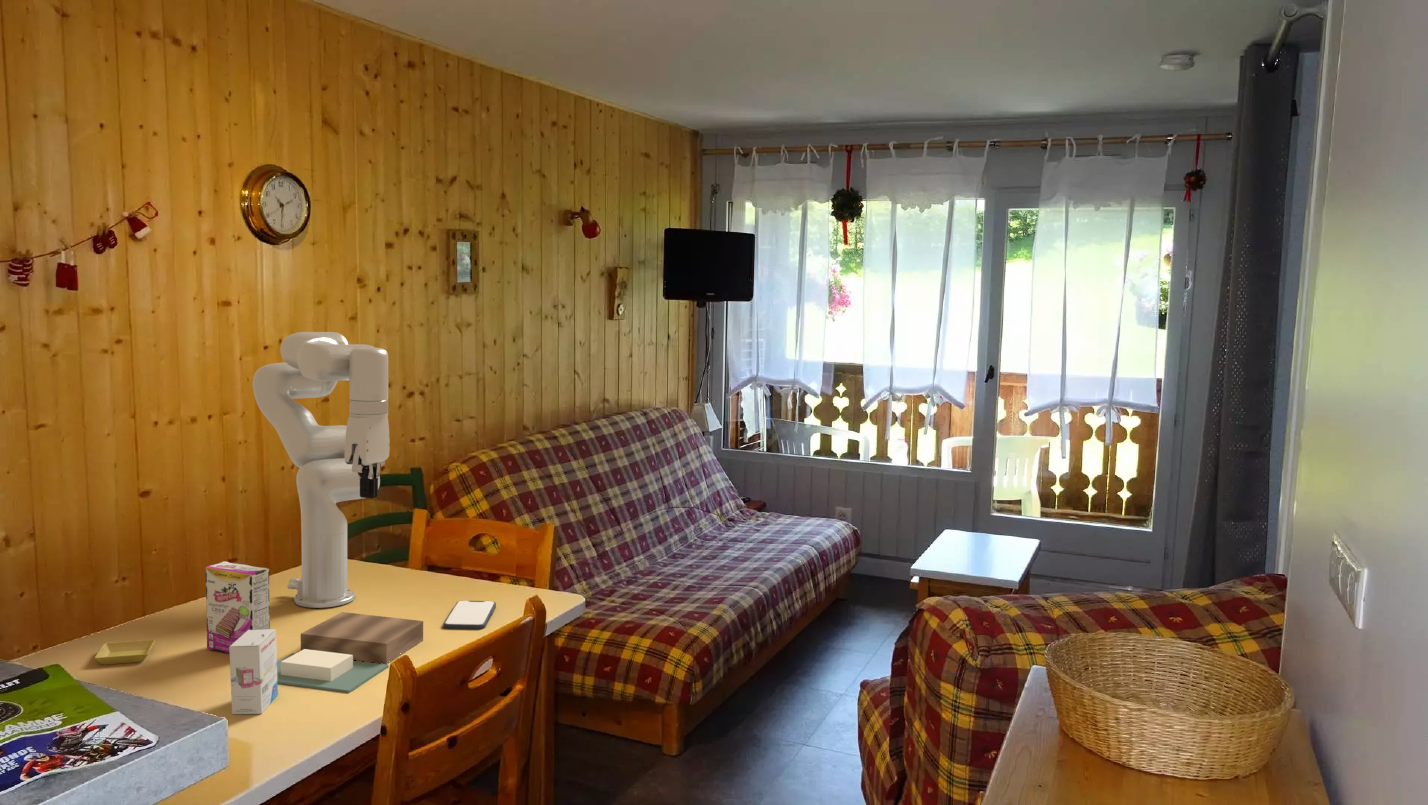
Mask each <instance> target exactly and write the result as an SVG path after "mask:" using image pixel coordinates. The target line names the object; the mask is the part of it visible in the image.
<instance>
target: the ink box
mask: <svg viewBox="0 0 1428 805" xmlns="http://www.w3.org/2000/svg"><path fill="white" fill-rule="evenodd" d="M229 651H230V653H229V669H230V695H231V698H230V699H231V714H232V715H261V714H263V713H264V712H265V711H266V709H267V708H268V707H269V706H270V704H271V703H272V702H273V701H274V700H275V699H276V698H277V696H278V695H279V691H278V690H279V688H278V687H279V685H278V683H277V661H278V658H277V657H278V654H277V653H278V652H277V630H276V629H275V628H270V629H263V630H248V631H246V632H245V633H244V634H243V635H242V636H241V637H240V638H239V639H238V640H236V641H235V642H234V643H233V644H232V645H231V646H230V647H229Z"/></svg>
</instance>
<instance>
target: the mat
mask: <svg viewBox="0 0 1428 805" xmlns="http://www.w3.org/2000/svg"><path fill="white" fill-rule="evenodd" d="M296 653H297V652H292V653H291V654H289V655H287V656H285V657H282V658H281V659H279V660H277V683H278V684H279V685H286V686H287V685H288V686H293V687H294V686H296V687H303V688H309V689H310V688H311V689H317V690H318V689H319V690H324V691H325V690H326V691H333V692H341V693H348V694H349V693H352V692H354V690H356V689H357V688H359V687H360V686H362V685H363V684H365V683H366V682H368V681H369V680H371V679H372V678H374V677H376V676H377V675H379V674H380V673H381V672H383V671H385V670H386V669H388V668H389V664H379V663H371V662H362V661H354V660H353V668H351V669H350V670H348V671H347V672H345V673H343V674H342V675H340V676H338V677H337V678H335V679H334V680H332V681H326V680H318V679H310V678H302V677H295V676H287V675H281V661H283V660H285V659H287V658H289V657H291V656H292V655H294V654H296Z"/></svg>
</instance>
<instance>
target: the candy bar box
mask: <svg viewBox="0 0 1428 805" xmlns="http://www.w3.org/2000/svg"><path fill="white" fill-rule="evenodd" d="M205 596H206V597H205V599H206V601H205V603H206V649H207V650H211V651H215V652H219V653H225V654H230V651H229V647H230V646H231V645H232V644H233V643H234V642H235V641H236V640H238V639H239V638H240V637H241V636H242V635H243V634H244V633H245V632H246V631H248V630H263V629H271V623H270V618H271V616H270V609H271V608H270V607H271V606H270V568H268V567H260V566H252V565H248V564H243V563H236V562H232V561H231V562H230V561H220V562H217V563H214V564H211V565H208V566H206V567H205Z"/></svg>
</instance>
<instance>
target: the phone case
mask: <svg viewBox="0 0 1428 805" xmlns="http://www.w3.org/2000/svg"><path fill="white" fill-rule="evenodd" d="M496 608H497V602H496V601H493V600H459V601H457V602H455V605H453V608H452V610H451V611H450V612H449V613H448V616H447V617H446V619H445V621H444V622H443V626H442V627H443V629H446V630H474V631H475V630H484V629H485V628H487V625H488V623H489V621H490V620H491V618H492V616H493V614H494V612H495V611H496Z"/></svg>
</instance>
